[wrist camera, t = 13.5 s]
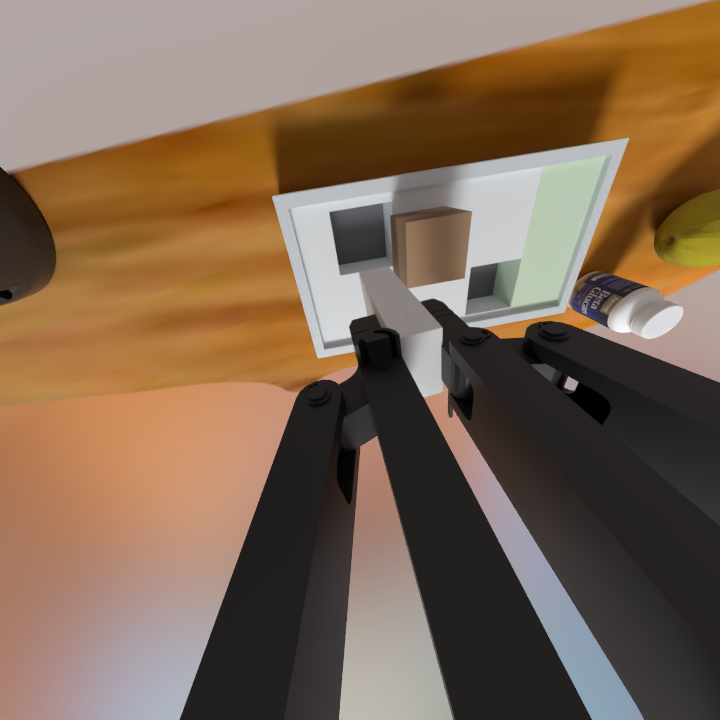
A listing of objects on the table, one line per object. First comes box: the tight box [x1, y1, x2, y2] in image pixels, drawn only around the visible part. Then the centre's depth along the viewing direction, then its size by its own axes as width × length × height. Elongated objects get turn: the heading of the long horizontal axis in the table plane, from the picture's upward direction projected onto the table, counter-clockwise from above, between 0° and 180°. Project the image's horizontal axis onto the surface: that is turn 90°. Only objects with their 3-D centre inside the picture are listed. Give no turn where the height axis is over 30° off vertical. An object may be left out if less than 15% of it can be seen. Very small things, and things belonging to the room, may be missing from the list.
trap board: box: [272, 138, 629, 358], centre depth 27 cm, size 30×16×5 cm, turn 97°
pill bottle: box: [567, 271, 683, 339], centre depth 31 cm, size 5×5×10 cm
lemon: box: [654, 189, 720, 267], centre depth 28 cm, size 11×8×8 cm
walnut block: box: [390, 206, 472, 288], centre depth 22 cm, size 5×5×5 cm
